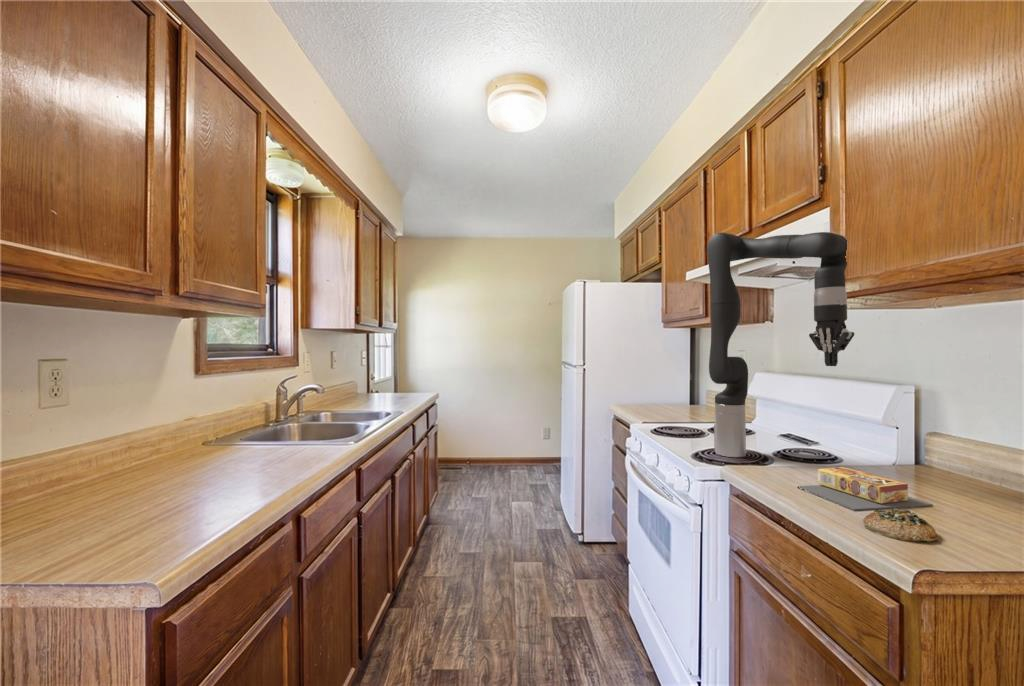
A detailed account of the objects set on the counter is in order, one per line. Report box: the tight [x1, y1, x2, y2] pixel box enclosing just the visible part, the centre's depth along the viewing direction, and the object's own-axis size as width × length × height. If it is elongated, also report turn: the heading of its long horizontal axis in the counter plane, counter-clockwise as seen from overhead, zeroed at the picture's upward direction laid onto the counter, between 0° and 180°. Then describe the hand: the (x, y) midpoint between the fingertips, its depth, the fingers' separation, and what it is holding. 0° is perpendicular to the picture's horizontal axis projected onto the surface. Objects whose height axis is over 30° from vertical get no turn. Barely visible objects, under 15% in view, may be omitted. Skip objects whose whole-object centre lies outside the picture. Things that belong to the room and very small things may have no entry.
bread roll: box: [862, 508, 939, 543], centre depth 85 cm, size 11×11×5 cm
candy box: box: [817, 466, 909, 504], centre depth 106 cm, size 9×4×15 cm
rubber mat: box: [797, 484, 933, 512], centre depth 105 cm, size 16×20×1 cm
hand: (831, 366), depth 121 cm, fingers closed
